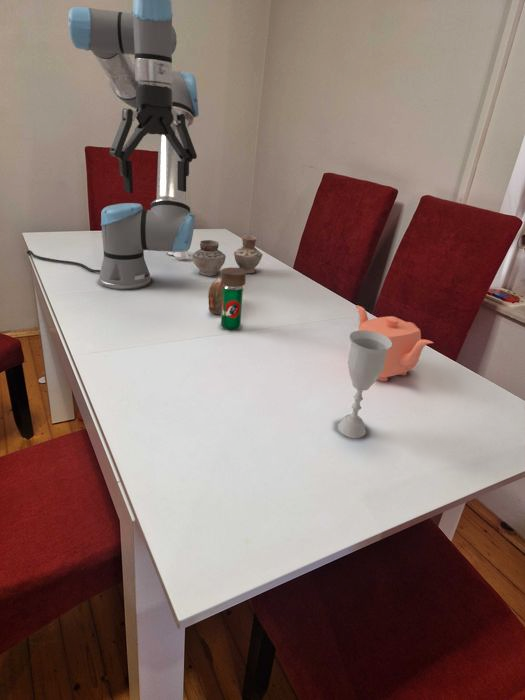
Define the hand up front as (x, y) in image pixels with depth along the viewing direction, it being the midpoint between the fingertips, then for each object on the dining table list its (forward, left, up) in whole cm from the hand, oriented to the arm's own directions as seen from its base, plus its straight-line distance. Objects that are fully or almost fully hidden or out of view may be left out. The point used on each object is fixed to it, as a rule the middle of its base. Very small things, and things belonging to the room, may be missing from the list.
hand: (156, 191), depth 104 cm
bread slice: (+2, +18, -32) cm, 37 cm away
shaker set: (-47, +34, -32) cm, 66 cm away
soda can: (+14, +13, -32) cm, 37 cm away
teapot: (+50, +29, -32) cm, 66 cm away
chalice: (+61, +5, -32) cm, 69 cm away
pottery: (-24, +40, -32) cm, 57 cm away
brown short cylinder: (+14, +13, -20) cm, 27 cm away
